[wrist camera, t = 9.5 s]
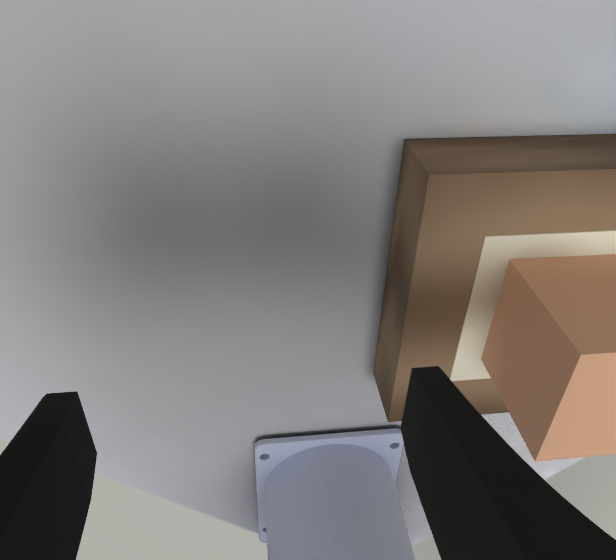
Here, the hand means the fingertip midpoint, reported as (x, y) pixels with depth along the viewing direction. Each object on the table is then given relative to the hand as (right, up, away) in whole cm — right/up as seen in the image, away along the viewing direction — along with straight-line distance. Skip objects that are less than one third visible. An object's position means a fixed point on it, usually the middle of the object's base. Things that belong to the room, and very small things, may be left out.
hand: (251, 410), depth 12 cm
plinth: (+11, +3, +12) cm, 16 cm away
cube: (+11, +2, +10) cm, 15 cm away
